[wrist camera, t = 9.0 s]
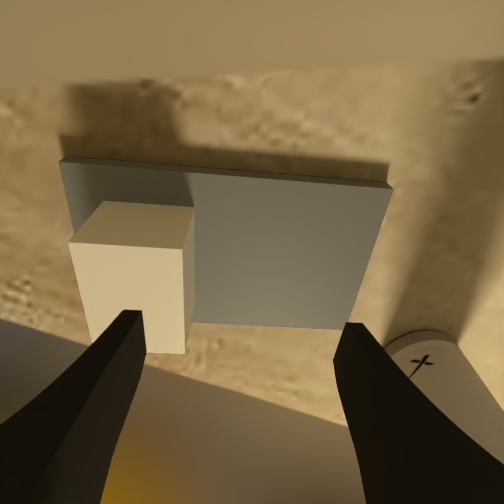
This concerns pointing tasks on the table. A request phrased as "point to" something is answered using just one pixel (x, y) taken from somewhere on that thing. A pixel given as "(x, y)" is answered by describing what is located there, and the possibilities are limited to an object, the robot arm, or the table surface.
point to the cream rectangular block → (138, 269)
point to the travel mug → (451, 386)
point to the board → (252, 235)
